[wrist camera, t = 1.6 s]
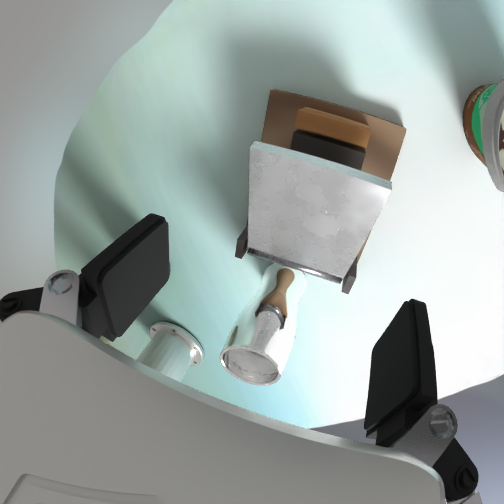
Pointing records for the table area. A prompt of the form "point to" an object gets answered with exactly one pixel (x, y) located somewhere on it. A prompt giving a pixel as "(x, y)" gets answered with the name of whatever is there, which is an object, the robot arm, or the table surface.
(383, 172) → the plate
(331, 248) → the grey marble tile
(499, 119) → the food container
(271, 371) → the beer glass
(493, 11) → the table surface
